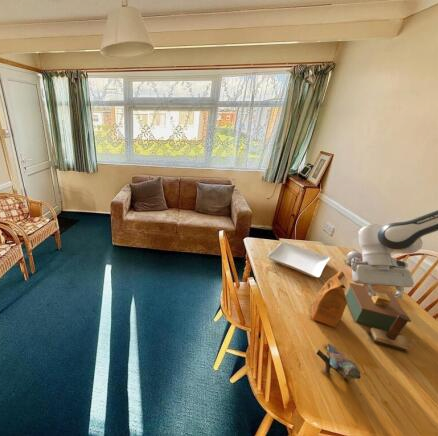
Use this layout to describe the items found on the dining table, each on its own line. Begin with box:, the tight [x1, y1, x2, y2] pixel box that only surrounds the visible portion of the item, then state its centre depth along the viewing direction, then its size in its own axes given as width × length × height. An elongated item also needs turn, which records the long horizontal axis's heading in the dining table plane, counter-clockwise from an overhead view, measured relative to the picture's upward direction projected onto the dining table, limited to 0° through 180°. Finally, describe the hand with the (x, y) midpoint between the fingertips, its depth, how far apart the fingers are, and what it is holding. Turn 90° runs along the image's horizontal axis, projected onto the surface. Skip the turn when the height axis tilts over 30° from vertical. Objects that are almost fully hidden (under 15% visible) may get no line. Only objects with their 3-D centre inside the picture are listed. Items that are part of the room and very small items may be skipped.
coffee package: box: [310, 270, 348, 328], centre depth 97 cm, size 10×12×22 cm
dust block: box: [371, 292, 390, 307], centre depth 97 cm, size 4×4×4 cm
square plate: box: [266, 241, 331, 278], centre depth 138 cm, size 27×27×4 cm
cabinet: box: [345, 282, 412, 332], centre depth 101 cm, size 16×17×8 cm
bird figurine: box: [315, 343, 362, 380], centre depth 78 cm, size 13×10×20 cm
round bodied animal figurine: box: [344, 250, 363, 266], centre depth 132 cm, size 7×12×8 cm, turn 146°
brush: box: [369, 314, 412, 353], centre depth 87 cm, size 10×5×14 cm, turn 65°
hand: (385, 297), depth 92 cm, fingers open, 8 cm apart
